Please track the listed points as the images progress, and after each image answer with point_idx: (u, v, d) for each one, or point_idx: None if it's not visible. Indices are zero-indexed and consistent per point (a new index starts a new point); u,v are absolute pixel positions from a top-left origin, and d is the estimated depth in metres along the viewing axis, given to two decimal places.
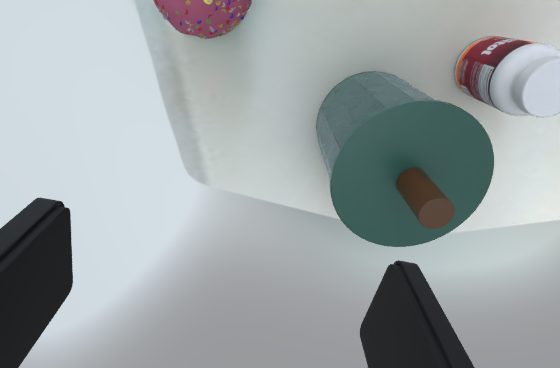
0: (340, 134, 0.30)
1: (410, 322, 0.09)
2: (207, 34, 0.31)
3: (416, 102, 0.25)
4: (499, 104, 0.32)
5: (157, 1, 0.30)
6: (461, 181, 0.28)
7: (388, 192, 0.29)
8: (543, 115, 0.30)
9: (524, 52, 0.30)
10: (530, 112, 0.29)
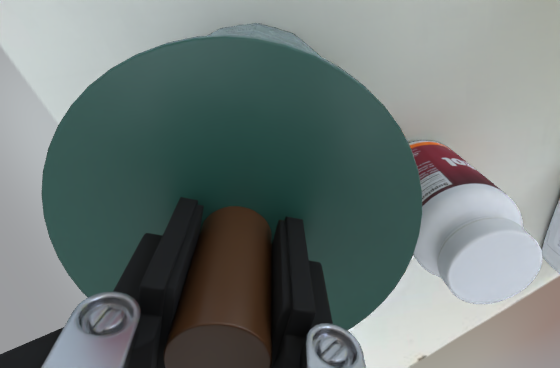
0: None
1: (278, 265, 0.10)
2: None
3: (379, 103, 0.10)
4: None
5: None
6: None
7: None
8: (455, 291, 0.18)
9: (500, 197, 0.19)
10: (449, 275, 0.18)
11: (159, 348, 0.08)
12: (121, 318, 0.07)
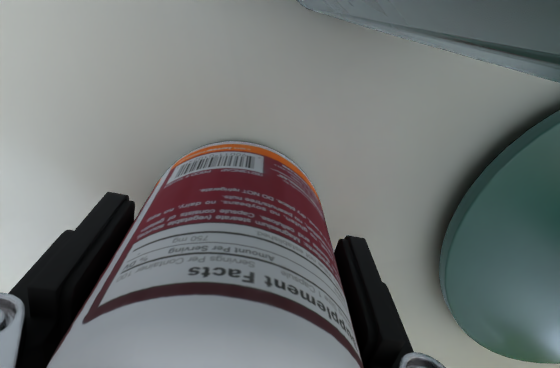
0: None
1: (350, 288, 0.09)
2: None
3: None
4: (221, 348, 0.05)
5: None
6: (517, 302, 0.14)
7: None
8: None
9: None
10: None
11: None
12: None
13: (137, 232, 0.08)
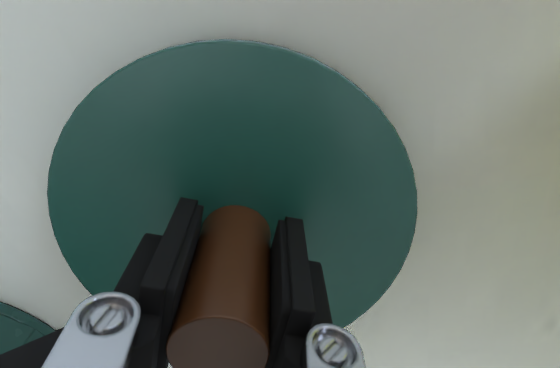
0: None
1: (278, 265, 0.10)
2: None
3: (374, 105, 0.11)
4: None
5: None
6: None
7: None
8: None
9: None
10: None
11: (159, 348, 0.08)
12: (121, 318, 0.07)
13: None
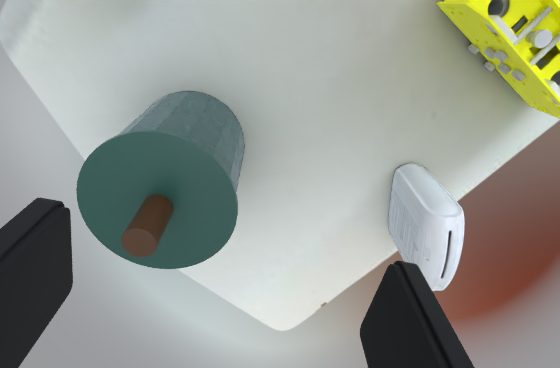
0: (144, 123, 0.29)
1: (410, 322, 0.09)
2: None
3: (207, 154, 0.27)
4: None
5: None
6: (194, 237, 0.30)
7: (134, 200, 0.28)
8: None
9: None
10: None
11: None
12: None
13: None
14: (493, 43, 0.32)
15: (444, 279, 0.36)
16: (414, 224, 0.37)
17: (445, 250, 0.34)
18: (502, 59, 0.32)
